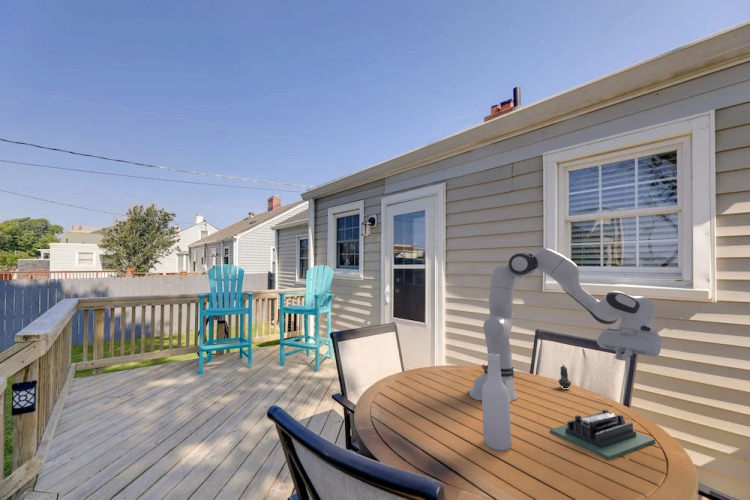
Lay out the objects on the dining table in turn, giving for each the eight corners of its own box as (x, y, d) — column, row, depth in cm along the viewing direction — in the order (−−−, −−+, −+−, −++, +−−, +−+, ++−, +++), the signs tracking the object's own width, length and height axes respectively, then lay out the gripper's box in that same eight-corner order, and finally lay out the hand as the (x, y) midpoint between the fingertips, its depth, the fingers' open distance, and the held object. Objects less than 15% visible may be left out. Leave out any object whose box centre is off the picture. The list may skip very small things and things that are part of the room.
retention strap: (609, 415, 116) (609, 411, 116) (618, 418, 113) (618, 415, 113) (580, 421, 109) (580, 418, 109) (589, 425, 107) (589, 421, 107)
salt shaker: (573, 390, 158) (571, 366, 159) (561, 390, 159) (559, 365, 161) (569, 387, 164) (567, 363, 165) (556, 386, 165) (555, 363, 166)
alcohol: (500, 454, 100) (496, 358, 103) (478, 443, 107) (474, 353, 110) (517, 447, 104) (512, 355, 108) (494, 436, 112) (490, 350, 115)
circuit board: (594, 419, 125) (594, 416, 125) (655, 442, 107) (654, 439, 107) (550, 432, 114) (549, 429, 114) (609, 460, 96) (608, 456, 96)
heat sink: (600, 422, 120) (598, 404, 121) (636, 435, 109) (634, 416, 110) (565, 432, 112) (564, 413, 113) (601, 448, 101) (599, 427, 102)
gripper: (600, 323, 133) (588, 348, 128) (659, 329, 115) (647, 359, 110) (607, 333, 135) (595, 358, 130) (667, 340, 116) (655, 371, 111)
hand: (620, 359), depth 119 cm, fingers closed
